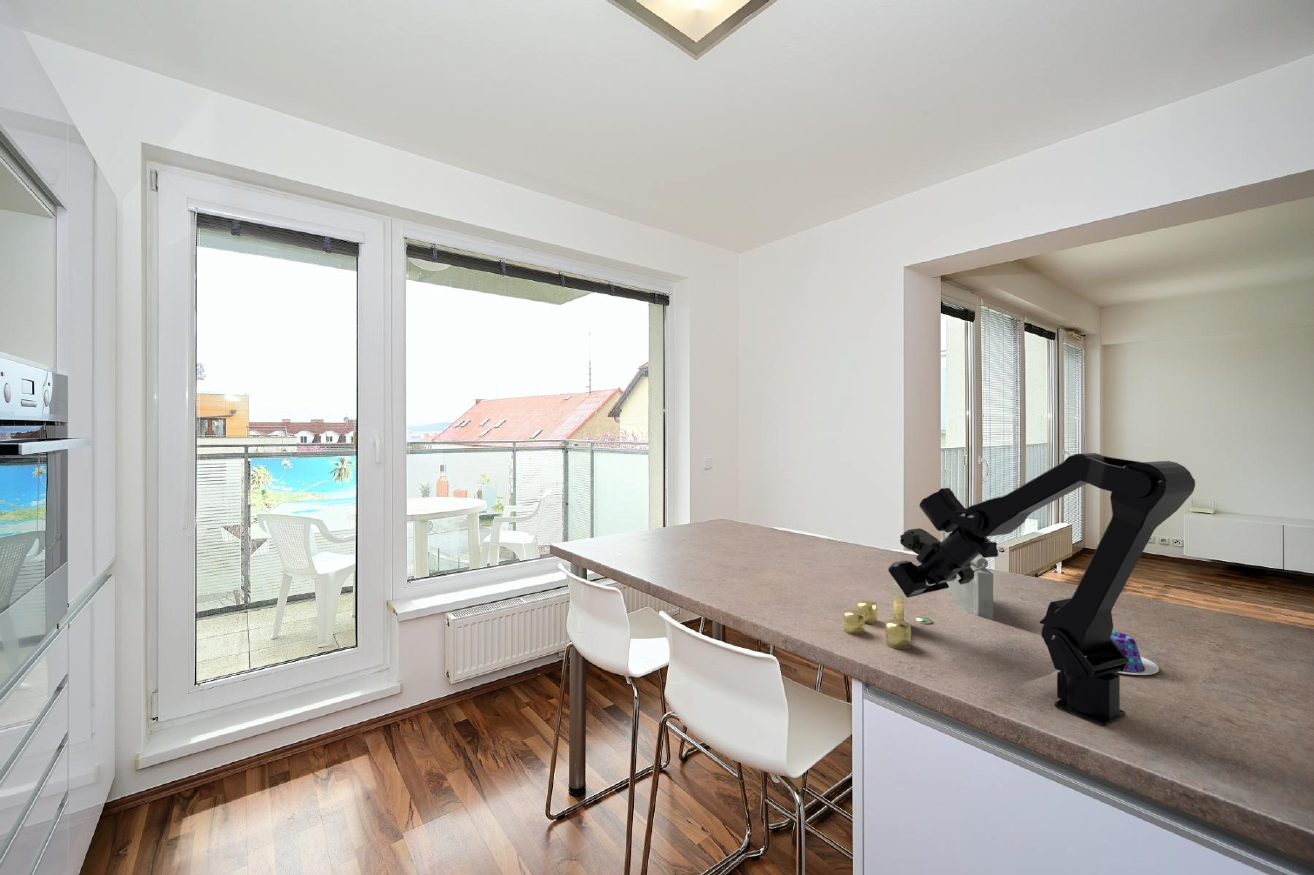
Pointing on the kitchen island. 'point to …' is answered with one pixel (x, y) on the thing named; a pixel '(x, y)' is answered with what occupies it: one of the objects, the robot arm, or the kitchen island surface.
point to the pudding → (1133, 655)
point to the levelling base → (866, 617)
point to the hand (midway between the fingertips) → (906, 595)
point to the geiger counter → (975, 590)
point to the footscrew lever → (898, 623)
